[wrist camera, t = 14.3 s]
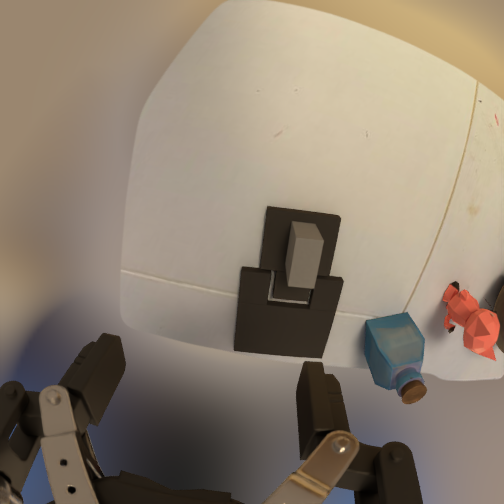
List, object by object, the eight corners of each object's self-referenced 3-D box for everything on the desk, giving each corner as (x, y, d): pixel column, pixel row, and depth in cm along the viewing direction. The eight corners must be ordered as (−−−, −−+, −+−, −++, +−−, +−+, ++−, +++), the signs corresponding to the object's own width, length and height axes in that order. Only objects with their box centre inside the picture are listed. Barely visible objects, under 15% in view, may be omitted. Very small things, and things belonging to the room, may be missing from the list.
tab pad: (257, 291, 37) (254, 322, 30) (267, 205, 33) (267, 222, 26) (321, 298, 36) (330, 329, 30) (338, 215, 32) (354, 233, 26)
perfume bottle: (364, 354, 40) (386, 417, 29) (366, 320, 37) (393, 383, 26) (403, 346, 39) (431, 404, 28) (407, 312, 37) (443, 369, 26)
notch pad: (234, 345, 40) (233, 350, 39) (242, 266, 35) (241, 270, 34) (320, 352, 40) (321, 358, 39) (341, 277, 35) (343, 281, 34)
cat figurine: (473, 299, 36) (515, 346, 25) (440, 327, 38) (476, 379, 26) (461, 267, 34) (511, 312, 23) (425, 297, 36) (467, 351, 25)
